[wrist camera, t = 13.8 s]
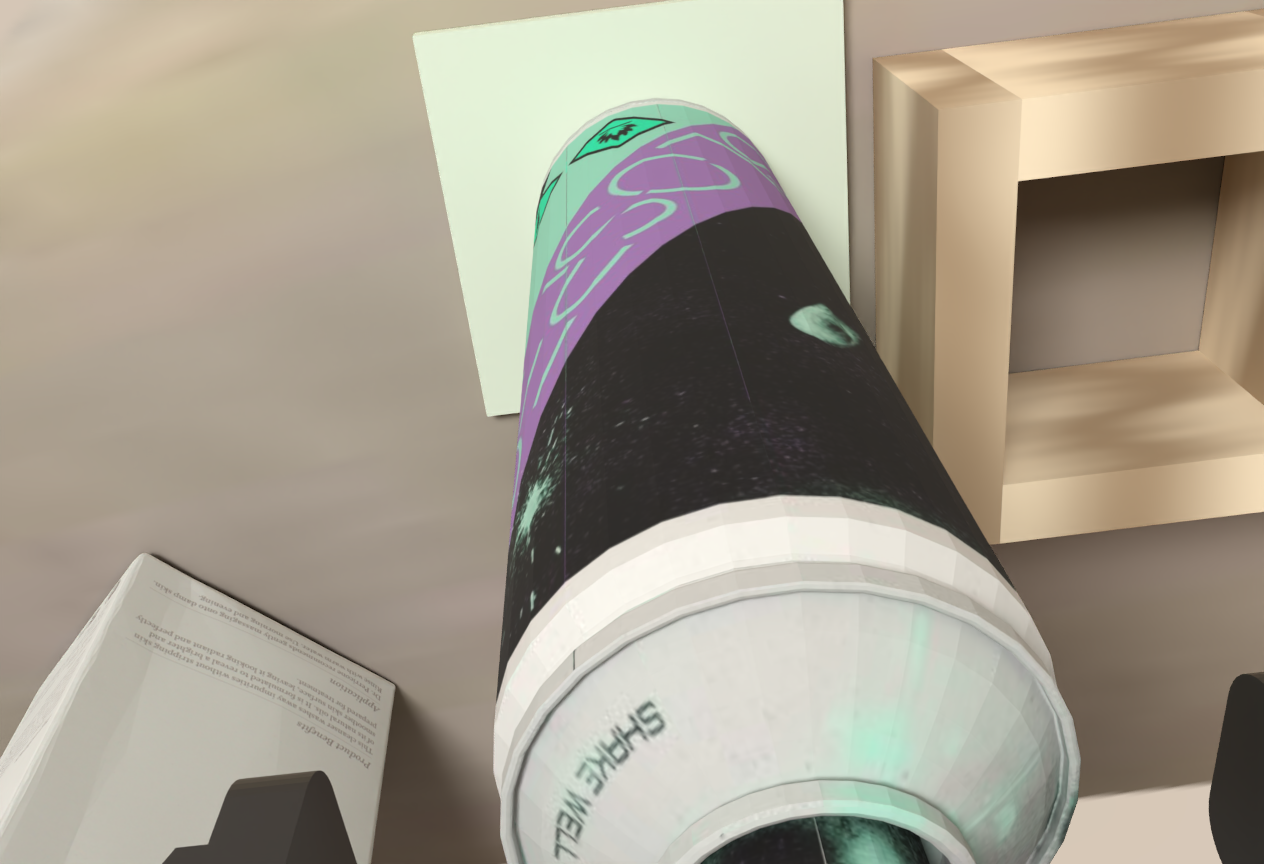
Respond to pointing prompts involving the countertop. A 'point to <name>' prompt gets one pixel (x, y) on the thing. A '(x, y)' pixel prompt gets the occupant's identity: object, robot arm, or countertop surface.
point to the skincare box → (182, 727)
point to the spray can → (744, 551)
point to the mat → (603, 79)
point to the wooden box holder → (984, 264)
